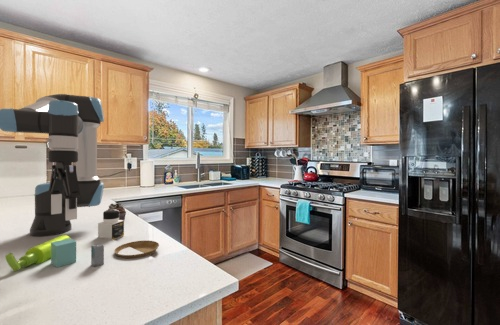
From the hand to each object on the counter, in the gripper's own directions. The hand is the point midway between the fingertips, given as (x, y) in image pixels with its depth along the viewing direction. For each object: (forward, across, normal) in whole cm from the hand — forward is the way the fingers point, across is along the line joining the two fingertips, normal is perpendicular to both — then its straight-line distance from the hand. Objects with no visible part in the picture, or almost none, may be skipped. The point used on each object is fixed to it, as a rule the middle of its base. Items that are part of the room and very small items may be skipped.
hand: (63, 216), depth 78 cm
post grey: (+16, +10, +6) cm, 20 cm away
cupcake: (+16, -43, +36) cm, 59 cm away
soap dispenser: (+12, -16, +5) cm, 21 cm away
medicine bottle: (+16, -17, +22) cm, 32 cm away
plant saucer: (+16, +8, +20) cm, 27 cm away
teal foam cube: (+15, 0, 0) cm, 15 cm away
